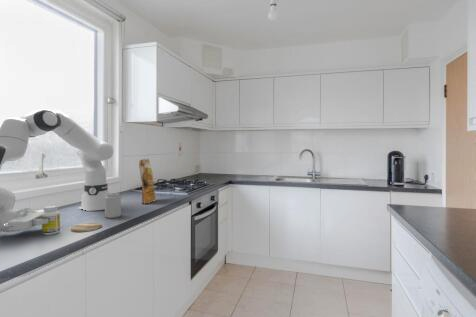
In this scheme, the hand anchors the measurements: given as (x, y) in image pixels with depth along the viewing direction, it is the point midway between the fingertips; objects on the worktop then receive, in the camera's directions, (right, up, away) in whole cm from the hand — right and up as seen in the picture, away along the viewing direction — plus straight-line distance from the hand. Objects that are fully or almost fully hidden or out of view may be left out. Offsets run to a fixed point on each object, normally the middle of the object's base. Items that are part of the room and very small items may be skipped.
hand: (53, 218), depth 115 cm
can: (+13, -5, +27) cm, 30 cm away
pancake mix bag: (+18, -4, +65) cm, 68 cm away
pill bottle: (-1, -6, 0) cm, 6 cm away
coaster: (+10, -6, +7) cm, 14 cm away
